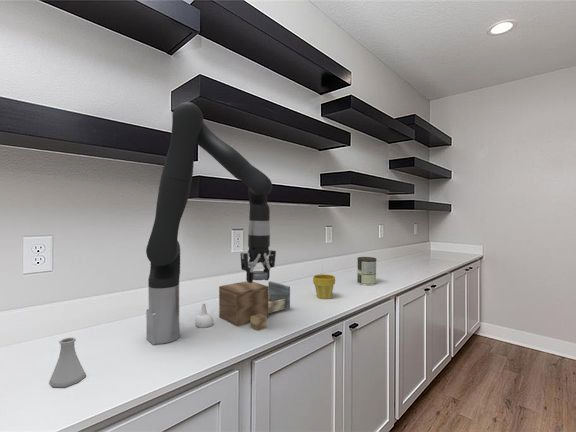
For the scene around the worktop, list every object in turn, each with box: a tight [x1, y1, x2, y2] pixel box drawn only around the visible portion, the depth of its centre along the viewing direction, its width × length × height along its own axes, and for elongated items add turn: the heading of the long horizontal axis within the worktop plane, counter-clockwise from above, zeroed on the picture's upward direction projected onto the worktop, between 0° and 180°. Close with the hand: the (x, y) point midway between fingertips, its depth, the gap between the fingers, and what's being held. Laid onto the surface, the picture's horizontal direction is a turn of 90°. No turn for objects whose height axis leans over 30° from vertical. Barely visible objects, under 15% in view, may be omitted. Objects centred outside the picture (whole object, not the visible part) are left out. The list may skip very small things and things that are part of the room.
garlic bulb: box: [194, 303, 214, 329], centre depth 114 cm, size 6×6×8 cm
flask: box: [49, 336, 87, 388], centre depth 78 cm, size 7×7×10 cm
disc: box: [252, 270, 267, 281], centre depth 111 cm, size 6×6×2 cm
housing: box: [218, 280, 269, 327], centre depth 122 cm, size 14×12×12 cm
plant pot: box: [312, 273, 336, 300], centre depth 150 cm, size 10×10×10 cm
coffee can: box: [356, 256, 377, 287], centre depth 177 cm, size 10×10×14 cm
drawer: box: [267, 280, 291, 314], centre depth 130 cm, size 15×12×9 cm
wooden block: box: [250, 314, 268, 332], centre depth 112 cm, size 4×4×4 cm
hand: (258, 281), depth 111 cm, fingers closed on disc, 6 cm apart
